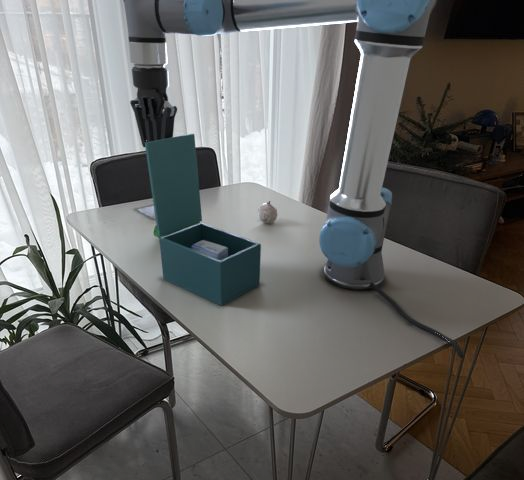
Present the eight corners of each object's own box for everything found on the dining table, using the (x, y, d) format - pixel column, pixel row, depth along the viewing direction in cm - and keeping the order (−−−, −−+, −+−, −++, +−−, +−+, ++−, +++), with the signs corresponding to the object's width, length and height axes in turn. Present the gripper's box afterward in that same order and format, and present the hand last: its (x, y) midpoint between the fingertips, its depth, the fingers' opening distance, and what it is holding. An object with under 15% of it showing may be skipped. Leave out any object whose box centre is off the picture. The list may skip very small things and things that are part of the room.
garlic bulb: (254, 223, 150) (254, 198, 146) (262, 217, 155) (263, 192, 151) (272, 227, 148) (274, 202, 144) (281, 221, 153) (282, 196, 148)
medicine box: (229, 279, 117) (229, 247, 112) (218, 286, 114) (217, 253, 108) (204, 271, 120) (202, 239, 115) (192, 277, 117) (191, 244, 112)
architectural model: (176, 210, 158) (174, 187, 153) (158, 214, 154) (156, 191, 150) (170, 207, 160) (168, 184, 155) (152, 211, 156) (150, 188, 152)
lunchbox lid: (194, 133, 109) (192, 133, 109) (146, 142, 99) (144, 142, 100) (202, 221, 120) (200, 220, 120) (160, 236, 111) (157, 235, 111)
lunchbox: (259, 284, 117) (261, 243, 111) (221, 306, 108) (220, 262, 102) (202, 261, 126) (201, 222, 120) (163, 279, 117) (159, 237, 111)
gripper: (184, 68, 98) (190, 183, 112) (143, 62, 105) (153, 172, 118) (156, 70, 93) (166, 190, 107) (115, 64, 100) (129, 178, 113)
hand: (159, 180), depth 113 cm, fingers closed
